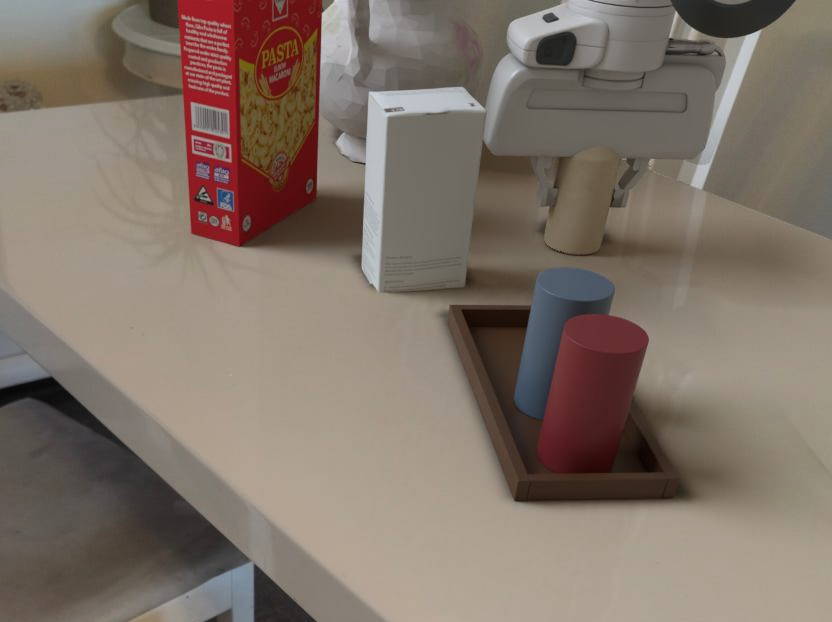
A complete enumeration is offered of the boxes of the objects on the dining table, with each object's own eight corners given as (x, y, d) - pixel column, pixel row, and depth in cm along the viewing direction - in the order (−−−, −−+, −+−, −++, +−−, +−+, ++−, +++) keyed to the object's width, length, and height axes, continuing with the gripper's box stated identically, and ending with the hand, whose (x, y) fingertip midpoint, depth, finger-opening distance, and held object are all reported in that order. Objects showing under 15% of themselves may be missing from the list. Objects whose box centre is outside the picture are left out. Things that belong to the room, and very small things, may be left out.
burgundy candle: (600, 436, 68) (633, 313, 62) (623, 479, 64) (660, 353, 58) (528, 436, 67) (554, 313, 61) (546, 480, 64) (576, 353, 57)
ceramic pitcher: (453, 206, 102) (512, -83, 85) (272, 170, 103) (295, -125, 86) (467, 143, 118) (520, -112, 101) (310, 112, 118) (336, -148, 101)
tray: (571, 329, 81) (576, 305, 80) (671, 505, 63) (680, 478, 62) (446, 329, 80) (449, 304, 78) (512, 508, 62) (518, 481, 61)
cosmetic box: (444, 266, 89) (467, 84, 78) (466, 295, 85) (493, 107, 74) (355, 270, 87) (366, 85, 77) (373, 300, 83) (387, 109, 72)
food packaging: (239, 246, 89) (231, -92, 72) (191, 233, 91) (171, -101, 74) (316, 198, 99) (325, -110, 82) (271, 187, 101) (271, -118, 83)
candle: (540, 250, 92) (561, 137, 86) (546, 229, 96) (566, 119, 89) (598, 259, 92) (624, 145, 85) (602, 237, 96) (627, 126, 89)
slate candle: (574, 385, 73) (602, 267, 67) (593, 422, 69) (625, 301, 63) (506, 385, 72) (528, 266, 66) (522, 422, 69) (547, 300, 62)
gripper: (718, 31, 85) (674, 194, 95) (490, 22, 83) (468, 191, 93) (746, 50, 81) (697, 219, 90) (506, 41, 79) (481, 216, 88)
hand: (579, 205), depth 92 cm, fingers closed on candle, 5 cm apart
